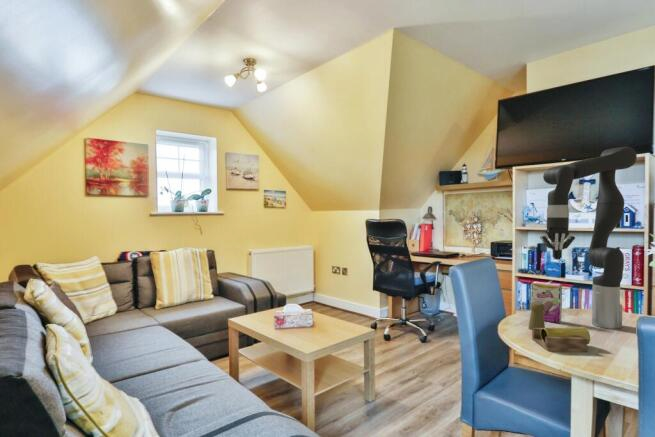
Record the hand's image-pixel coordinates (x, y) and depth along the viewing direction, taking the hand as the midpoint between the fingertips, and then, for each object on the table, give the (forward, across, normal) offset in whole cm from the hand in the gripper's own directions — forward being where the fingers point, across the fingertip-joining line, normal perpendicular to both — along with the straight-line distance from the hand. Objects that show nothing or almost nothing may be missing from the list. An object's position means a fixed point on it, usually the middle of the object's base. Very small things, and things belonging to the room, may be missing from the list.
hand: (557, 259), depth 146 cm
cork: (+29, +7, -1) cm, 30 cm away
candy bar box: (+29, -3, -14) cm, 33 cm away
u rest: (+29, +8, +17) cm, 35 cm away
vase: (+25, -1, +17) cm, 30 cm away
